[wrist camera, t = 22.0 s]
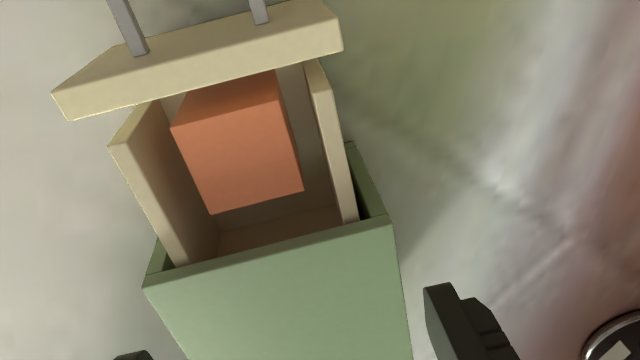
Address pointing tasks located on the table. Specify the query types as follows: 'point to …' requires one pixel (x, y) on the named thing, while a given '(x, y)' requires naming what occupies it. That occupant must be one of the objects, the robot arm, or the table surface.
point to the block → (238, 142)
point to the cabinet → (293, 293)
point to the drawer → (205, 70)
